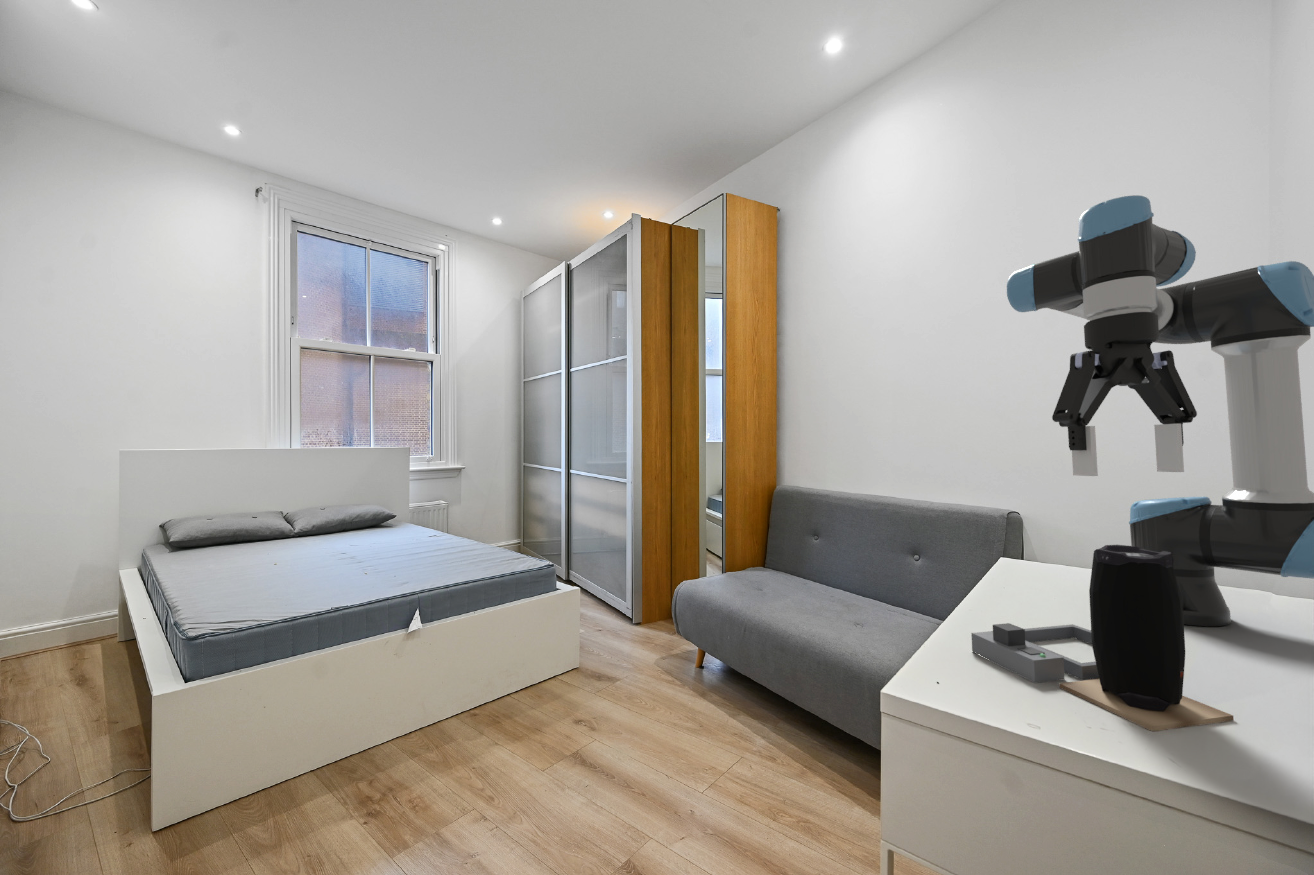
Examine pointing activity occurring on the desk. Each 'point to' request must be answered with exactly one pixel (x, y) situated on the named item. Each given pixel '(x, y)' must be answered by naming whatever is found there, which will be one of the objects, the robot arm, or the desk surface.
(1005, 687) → the desk surface
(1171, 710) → the cork mat
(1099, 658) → the portable speaker
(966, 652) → the desk surface
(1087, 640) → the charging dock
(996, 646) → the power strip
